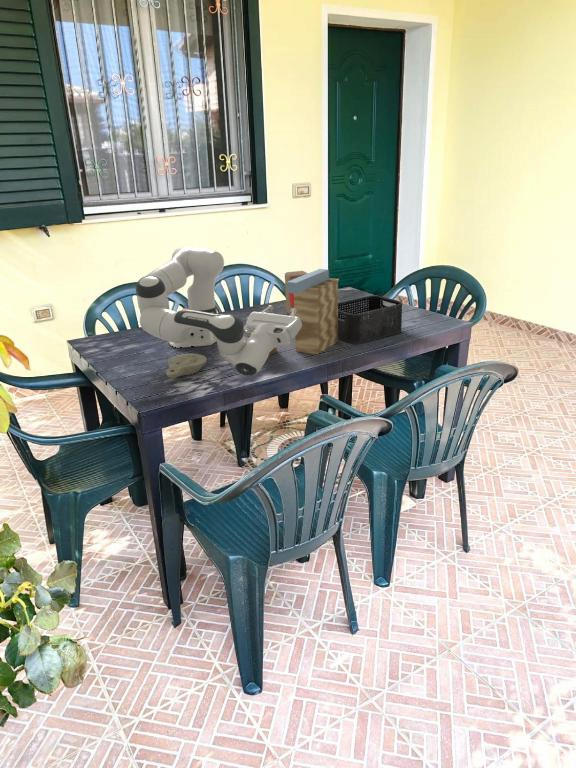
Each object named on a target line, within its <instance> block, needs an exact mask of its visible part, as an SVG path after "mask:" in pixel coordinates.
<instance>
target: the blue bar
mask: <svg viewBox="0 0 576 768" xmlns="http://www.w3.org/2000/svg"><path fill="white" fill-rule="evenodd" d="M329 270H330V269H327V268H324V269H323V268H319V269H316V270H313V271H311V272H307V273H308V274H305V275H303V276H300V277H298V278H295V279H293V280H290V281H288V282H287V293H294V294H297V293H299V292H302V291H304V290H306V289H308V288H311V287H313V286H315V285H318V284H320V283H322V282H324V281H327V280H329V278H330V276H329V275H330V273H329Z"/></svg>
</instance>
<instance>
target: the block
mask: <svg viewBox="0 0 576 768" xmlns="http://www.w3.org/2000/svg"><path fill="white" fill-rule="evenodd" d="M308 273H309V272H306V271H304V270H296V271H287V272H285V273H284V288H285V292H284V293H285V309H286V310H285V311H286V313H287V314H288V315H290V314H291V312H290V310H291V308H293V307H292V305H291V302H290V299H289V293H287V282H288V281H290V280H293V279H295V278H298V277H300V276H303V275H305V274H308Z"/></svg>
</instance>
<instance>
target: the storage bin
mask: <svg viewBox="0 0 576 768" xmlns="http://www.w3.org/2000/svg"><path fill="white" fill-rule="evenodd" d="M384 302H386V303H390V304H393V305H389V306H388V305H385V304H384ZM402 313H403V302H402V301H401V300H396V299H392V298H388V297H386V296H383V295H368V296H362V297H359V298H353V299H350V300H346V301H345V300H344V301H341V302H338V341H340V342H342V341H343V342H342V343H345V342H346V343H345V344H347V343H348V345H354V344H355V345H361V344H363V343H364V342H365V343H368V341H369V342H372V340H373V341H376V340H375V339H377V340H379V338H380V339H384V338H387V336H388V337H391V336H394V334H395V335H398V334H401V333H402V331H403V330H402V329H403V328H402V322H403V319H402V318H403V314H402ZM390 335H391V336H390ZM383 337H384V338H383ZM360 343H361V344H360Z"/></svg>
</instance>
